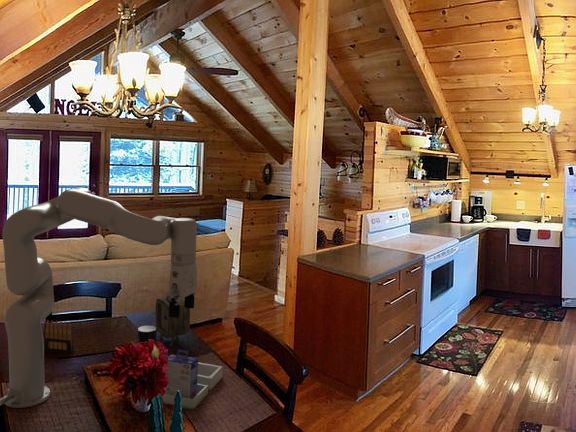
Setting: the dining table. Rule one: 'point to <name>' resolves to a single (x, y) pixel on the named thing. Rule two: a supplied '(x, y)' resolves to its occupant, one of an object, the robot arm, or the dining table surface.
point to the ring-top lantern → (171, 320)
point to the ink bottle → (147, 333)
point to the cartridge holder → (209, 374)
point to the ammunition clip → (58, 338)
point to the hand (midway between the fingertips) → (181, 312)
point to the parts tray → (186, 402)
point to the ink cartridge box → (182, 375)
